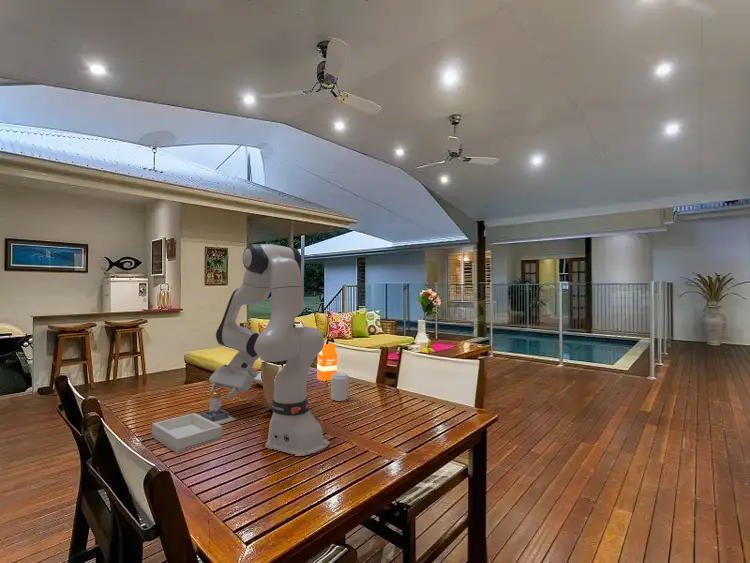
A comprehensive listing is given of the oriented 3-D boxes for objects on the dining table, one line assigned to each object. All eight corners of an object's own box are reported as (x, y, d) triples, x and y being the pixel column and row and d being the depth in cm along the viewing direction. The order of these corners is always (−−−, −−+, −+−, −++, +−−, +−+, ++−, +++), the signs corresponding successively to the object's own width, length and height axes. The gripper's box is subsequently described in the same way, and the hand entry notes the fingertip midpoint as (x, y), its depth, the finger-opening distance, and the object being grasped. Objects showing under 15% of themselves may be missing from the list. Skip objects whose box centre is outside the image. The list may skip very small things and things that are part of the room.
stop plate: (235, 421, 152) (236, 413, 152) (211, 428, 145) (211, 420, 145) (217, 413, 161) (217, 405, 161) (193, 419, 154) (193, 411, 154)
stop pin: (222, 417, 153) (223, 392, 153) (212, 420, 150) (212, 394, 150) (217, 415, 156) (217, 390, 156) (206, 417, 153) (207, 392, 153)
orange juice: (336, 380, 218) (337, 344, 218) (321, 382, 214) (322, 345, 214) (330, 377, 225) (331, 342, 225) (316, 379, 221) (317, 343, 221)
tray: (221, 439, 135) (222, 426, 135) (177, 453, 124) (177, 439, 124) (194, 424, 148) (194, 412, 148) (151, 436, 136) (152, 423, 136)
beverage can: (339, 403, 178) (340, 377, 178) (327, 399, 183) (327, 374, 183) (351, 399, 184) (352, 374, 184) (338, 396, 189) (339, 371, 189)
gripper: (218, 359, 166) (197, 387, 158) (252, 366, 156) (232, 396, 148) (226, 368, 170) (206, 396, 162) (260, 375, 160) (241, 405, 152)
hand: (219, 396), depth 155 cm, fingers open, 8 cm apart
